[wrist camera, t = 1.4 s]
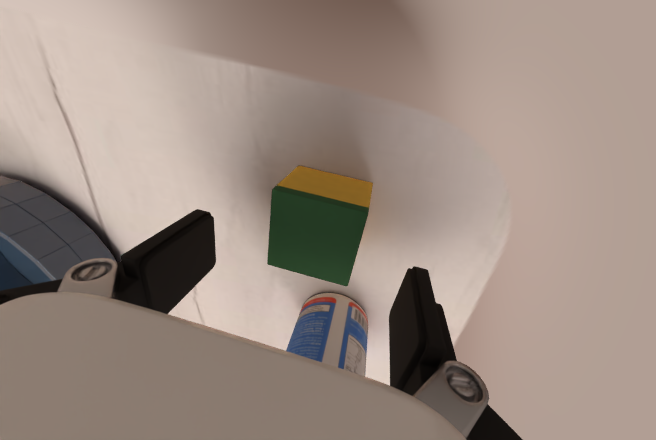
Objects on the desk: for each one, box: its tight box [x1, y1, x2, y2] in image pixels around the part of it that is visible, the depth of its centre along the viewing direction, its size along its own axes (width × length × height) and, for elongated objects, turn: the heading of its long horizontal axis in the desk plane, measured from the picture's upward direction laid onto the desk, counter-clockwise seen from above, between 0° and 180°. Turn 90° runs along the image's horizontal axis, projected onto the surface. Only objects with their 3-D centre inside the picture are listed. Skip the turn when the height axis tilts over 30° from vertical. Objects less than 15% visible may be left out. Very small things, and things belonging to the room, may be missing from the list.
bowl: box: [0, 176, 117, 291], centre depth 22 cm, size 16×16×4 cm
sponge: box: [267, 166, 373, 286], centre depth 14 cm, size 4×4×4 cm
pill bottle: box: [286, 293, 368, 377], centre depth 16 cm, size 6×5×10 cm
